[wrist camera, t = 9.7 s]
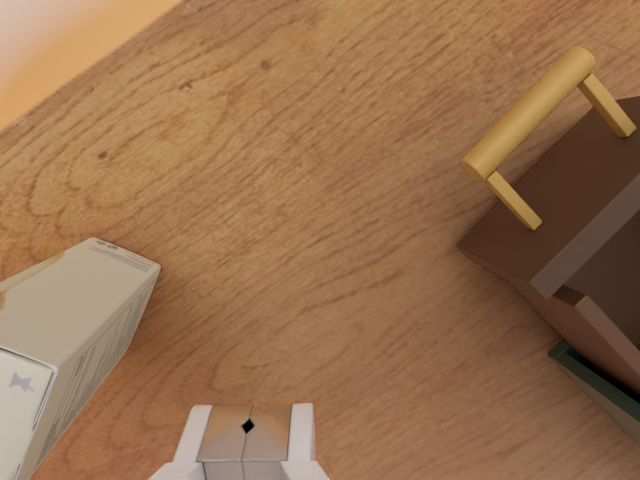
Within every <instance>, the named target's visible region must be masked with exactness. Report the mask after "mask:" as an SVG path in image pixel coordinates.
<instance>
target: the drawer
mask: <svg viewBox="0 0 640 480" xmlns="http://www.w3.org/2000/svg"><path fill="white" fill-rule="evenodd" d="M595 65H596V62H595V59H594V57H593V55H592V54H591V53H590V52H589V51H587V50H586V49H584V48H581V47H572V48H570V49H569V50H568V51H567V52H566V53H565V54H564V55H563V56H562V57H561V58H560V59H559V60H558V61H557V62H556V63H555V64H554V65H553V66H552V67H551V68H550V69H549V70H548V71H547V72H546V73H545V74H544V75H543V77H542V78H541V79H540V80H539V81H538V82H537V83H536V84H535V85H534V86H533V87H532V88H531V89H530V90H529V91H528V92H527V93H526V94H525V95H524V96H523V97H522V98H521V99H520V100H519V101H518V102H517V103H516V104H515V105H514V106H513V107H512V108H511V109H510V110H509V111H508V112H507V114H506V115H505V116H504V117H503V118H502V119H501V120H500V121H499V122H498V123H497V124H496V125H495V126H494V127H493V128H492V129H491V130H490V131H489V132H488V133H487V134H486V135H485V136H484V137H483V138H482V139H481V140H480V141H479V142H478V143H477V144H476V145H475V146H474V147H473V148H472V149H471V150H470V152H469V153H468V154H467V155H466V156H465V157H464V158H463V159H462V160H461V161H460V164H461V166H462V168H463V169H464V170H465V171H466V172H467V173H468V174H469V175H470V176H471V177H472V178H474V179H476V180H478V181H481V182H482V181H484V182H485V183H486V184H487V185H488V186H489V188H490V189H491V190H492V191H493V192H494V193H495V194H496V195H497V196H498V197H499V198H500V199H501V200H500V201H499V202H498V203H497V205H496V206H495V207H494V208H493V209H492V210H491V211H490V212H489V213H488V214H487V215H486V216H485V217H484V218H483V219H482V220H481V221H480V222H479V223H478V224H477V225H476V226H475V227H474V228H473V229H472V230H471V231H470V232H469V233H468V234H467V235H466V236H465V237H464V238H463V239H462V240H461V241H460V242H459V243H458V244H457V245H456V247H457V248H458V249H459V250H460V251H461V252H462V253H463V254H464V255H465V256H466V257H467V258H468V259H470V260H472V261H474V262H476V263H477V264H479V265H481V266H483V267H485V268H487V269H488V270H490V271H492V272H494V273H496V274H498V275H500V276H501V277H503V278H505V279H507V280H508V281H509V283H510V284H511V285H512V286H513V287H514V288H515V289H516V290H517V291H518V292H519V293H520V294H521V295H522V296H523V297H524V298H525V299H526V300H527V301H528V302H529V303H530V304H531V305H532V306H533V307H534V308H535V309H536V310H537V311H538V312H539V313H540V314H541V315H542V316H543V317H544V318H545V319H546V320H547V321H548V323H549V324H550V325H551V326H552V327H553V328H554V329H555V330H556V331H557V332H558V333H559V334H560V335H561V336H562V337H563V338H564V339H565V340H566V341H567V342H568V343H569V344H570V345H571V346H572V347H573V348H574V349H575V350H576V351H577V352H578V353H579V354H580V355H581V356H582V357H583V358H584V359H585V360H586V361H587V362H588V364H589V365H590V366H591V367H592V368H593V369H594V370H595V371H596V372H597V373H598V374H599V375H600V376H601V377H602V378H603V379H605V380H606V381H608V382H609V383H611V384H612V385H614V386H615V387H617V388H618V389H620V390H621V391H622V392H624V393H625V394H627V395H628V396H630V397H631V398H633V399H634V400H636V401H637V402H639V403H640V96H637V97H631V98H625V99H619V100H614V99H613V97H612V96H611V95H610V94H609V92H608V91H607V90H606V89H605V88H604V86H603V85H602V84H601V83H600V81H599V80H598V79H597V78H596V76H595V75H594V74H593V73H590V72H591V71H592V70H593V69H594V67H595ZM576 86H577V87H578V88H579V89H580V90H581V92H582V93H583V94H584V95H585V97H586V98H587V99H588V100H589V101H590V103H591V104H592V105H593V106H594V107H593V108H592V109H591V110H590V111H589V112H588V113H587V114H586V115H585V116H584V117H583V118H582V119H581V120H580V121H579V122H578V123H577V124H576V125H575V126H574V127H573V128H572V129H571V130H570V131H569V132H568V133H567V134H566V135H565V136H564V137H563V138H562V139H561V140H560V141H559V142H558V143H557V144H556V145H555V146H554V147H553V148H552V149H551V150H550V151H549V152H548V153H547V154H546V155H545V156H544V157H543V158H542V159H541V160H540V161H539V162H538V163H537V164H536V165H535V166H534V167H533V168H532V169H531V170H530V171H529V172H528V173H527V174H526V175H525V176H524V177H523V178H522V179H521V180H520V181H519V182H518V183H517V184H516V185H515V186H514V187H513V188H512V187H511V186H510V185H509V184H508V183H507V182H506V181H505V180H504V179H503V177H502V176H501V175H500V174H499V173H498V172H497V171H495V169H496V168H497V167H498V166H499V165H500V164H501V163H502V162H503V161H504V160H505V159H506V158H507V157H508V156H509V155H510V154H511V153H512V152H513V151H514V149H515V148H516V147H517V146H518V145H519V144H520V143H521V142H522V141H523V140H524V139H525V138H526V137H527V136H528V135H529V134H530V133H531V132H532V131H533V130H534V129H535V128H536V127H537V126H538V125H539V124H540V123H541V122H542V121H543V120H544V119H545V118H546V117H547V116H548V115H549V114H550V113H551V112H552V111H553V110H554V109H555V108H556V107H557V106H558V105H559V104H560V103H561V102H562V101H563V100H564V99H565V98H566V97H567V96H568V95H569V94H570V93H571V92H572V90H573V89H574V88H575V87H576Z"/></svg>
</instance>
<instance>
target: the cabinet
mask: <svg viewBox="0 0 640 480" xmlns="http://www.w3.org/2000/svg"><path fill="white" fill-rule="evenodd" d="M548 356H549V357H550V358H551V359H552V360H553V361H554V362H555V363H556V364H557V365H558V366H559V367H560V368H561V369H562V370H563V371H564V372H565V373H566V374H567V375H568V376H569V377H570V378H571V379H572V380H573V381H574V382H575V383H576V384H577V385H578V386H579V387H580V388H581V389H582V390H583V391H584V392H585V393H586V394H587V395H588V396H589V397H590V398H591V399H592V400H593V401H594V402H595V403H596V404H597V405H598V406H599V407H600V408H601V409H602V410H603V411H604V412H605V413H606V414H607V415H608V416H609V417H610V418H611V419H612V420H613V421H614V422H615V423H616V424H617V425H618V426H619V427H620V428H621V429H622V430H623V431H624V432H625V433H626V434H627V435H628V436H629V437H630V438H631V439H632V440H633V441H634V442H635V443H636V444H637V445H638V446H639V447H640V403H639V402H637V401H636V400H634V399H633V398H631V397H630V396H628V395H627V394H625V393H624V392H622V391H621V390H620V389H618V388H617V387H615V386H614V385H612V384H611V383H609V382H608V381H606V380H605V379H603V378H602V377H601V376H600V375H599V374H598V373H597V372H596V371H595V370H594V369H593V368H592V367H591V366H590V365H589V364H588V362H587V361H586V360H585V359H584V358H583V357H582V356H581V355H580V354H579V353H578V352H577V351H576V350H575V349H574V348H573V347H572V346H571V345H570V344H569V343H568V342H567V341H566V340H565V339H563V340H562V341H561V342H560V343H559V344H558V345H557V346H556V347H555V348H554V349H553V350H552V351H551V352H550V353H549V354H548Z"/></svg>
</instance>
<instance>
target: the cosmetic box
mask: <svg viewBox="0 0 640 480" xmlns="http://www.w3.org/2000/svg"><path fill="white" fill-rule="evenodd" d="M160 270H161V265H160V264H158V263H156V262H153V261H151V260H149V259H147V258H144V257H142V256H140V255H138V254H135V253H133V252H131V251H128V250H126V249H123V248H121V247H119V246H116V245H114V244H111V243H108V242H106V241H103V240H100V239H98V238H94V237H92V238H89V239H87V240H85V241H83V242H81V243H79V244H77V245H75V246H73V247H71V248H69V249H67V250H65V251H63V252H61V253H59V254H57V255H55V256H53V257H51V258H48V259H46V260H45V261H42V262H40V263H38V264H36V265H34V266H32V267H30V268H28V269H26V270H24V271H22V272H20V273H18V274H16V275H14V276H12V277H9V278H7V279H5V280H3V281H1V282H0V480H29V479H30V478H31V477H32V475H33V474H34V473H35V471H36V470H37V469H38V467H39V466H40V465H41V463H42V462H43V461H44V460H45V458H46V457H47V456H48V454H49V453H50V452H51V450H52V449H53V448H54V446H55V445H56V444H57V442H58V441H59V440H60V438H61V437H62V436H63V435H64V433H65V432H66V431H67V429H68V428H69V427H70V425H71V424H72V423H73V421H74V420H75V419H76V417H77V416H78V415H79V413H80V412H81V411H82V409H83V408H84V407H85V405H86V404H87V403H88V401H89V400H90V399H91V397H92V396H93V395H94V393H95V392H96V391H97V389H98V388H99V387H100V386H101V384H102V383H103V382H104V380H105V379H106V378H107V376H108V375H109V374H110V372H111V371H112V370H113V368H114V367H115V366H116V364H117V363H118V362H119V361H120V359H121V358H122V357H123V355H124V354H125V353H126V351H127V349H128V347H129V345H130V343H131V341H132V339H133V336H134V334H135V332H136V329H137V327H138V325H139V323H140V320H141V318H142V316H143V313H144V311H145V308H146V306H147V303H148V301H149V299H150V296H151V293H152V291H153V288H154V286H155V283H156V280H157V278H158V275H159V272H160Z"/></svg>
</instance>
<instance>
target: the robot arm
mask: <svg viewBox="0 0 640 480" xmlns="http://www.w3.org/2000/svg"><path fill="white" fill-rule="evenodd" d="M148 480H330V479H329V477H328V476H327V474H326V473H325V472H324V470H323V469H322V467H321V466H320V464H319V463H318V461H315V429H314V409H313V403H290V404H256V405H194V406H193V408H192V409H191V410H190V413H189V416H188V418H187V421H186V424H185V427H184V430H183V433H182V435H181V438H180V441H179V444H178V447H177V449H176V452H175V455H174V458H173V461H172V463H165V464H164V465H163V466H162V467H161V468H160V469H158V470H157V471H156V472H155V473H154V474H153V475H152V476H151V477H150V478H149V479H148Z"/></svg>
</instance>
